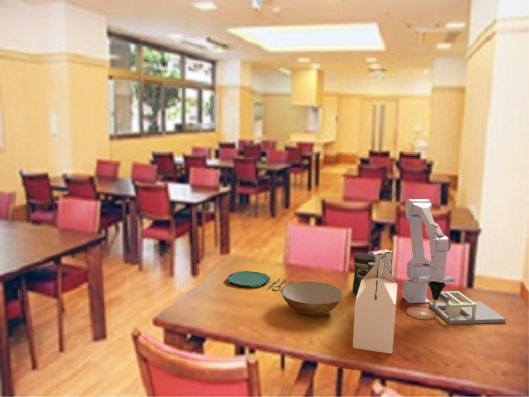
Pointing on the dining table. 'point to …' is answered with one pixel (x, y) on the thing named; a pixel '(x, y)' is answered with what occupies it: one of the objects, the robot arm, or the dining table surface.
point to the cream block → (454, 309)
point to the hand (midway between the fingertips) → (435, 299)
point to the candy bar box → (383, 257)
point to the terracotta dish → (421, 313)
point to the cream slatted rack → (445, 298)
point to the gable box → (375, 311)
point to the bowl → (311, 297)
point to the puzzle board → (469, 314)
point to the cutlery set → (251, 279)
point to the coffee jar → (361, 269)
